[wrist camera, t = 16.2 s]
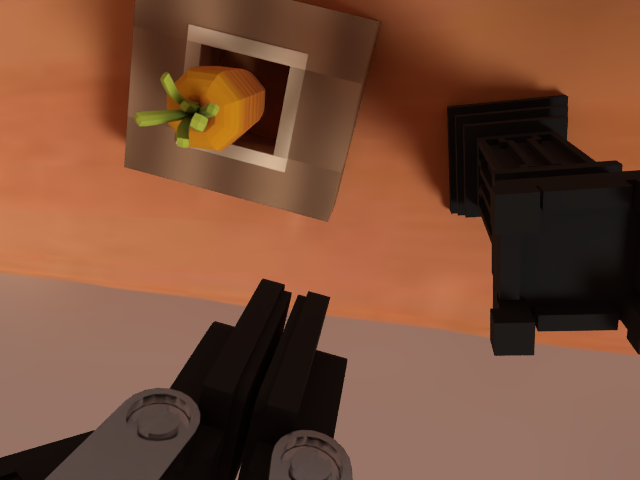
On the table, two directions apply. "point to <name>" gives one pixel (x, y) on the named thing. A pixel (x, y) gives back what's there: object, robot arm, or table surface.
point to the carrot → (209, 106)
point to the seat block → (298, 107)
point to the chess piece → (546, 221)
